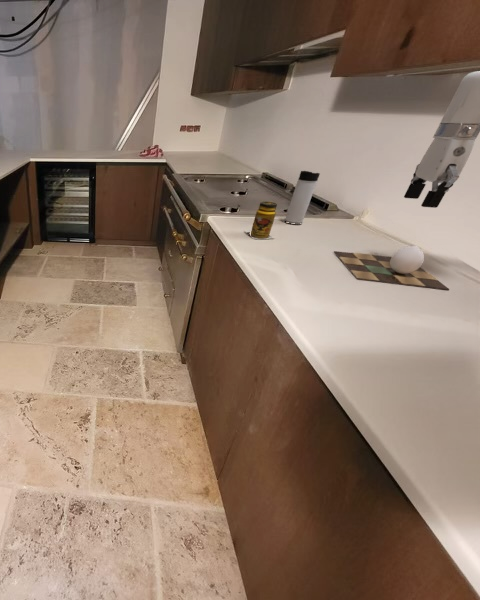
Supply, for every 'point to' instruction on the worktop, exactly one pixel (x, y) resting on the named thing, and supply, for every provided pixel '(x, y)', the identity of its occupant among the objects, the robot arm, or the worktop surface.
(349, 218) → the worktop surface
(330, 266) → the worktop surface
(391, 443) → the worktop surface
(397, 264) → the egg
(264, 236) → the condiment
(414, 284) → the checkerboard
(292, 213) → the travel mug
